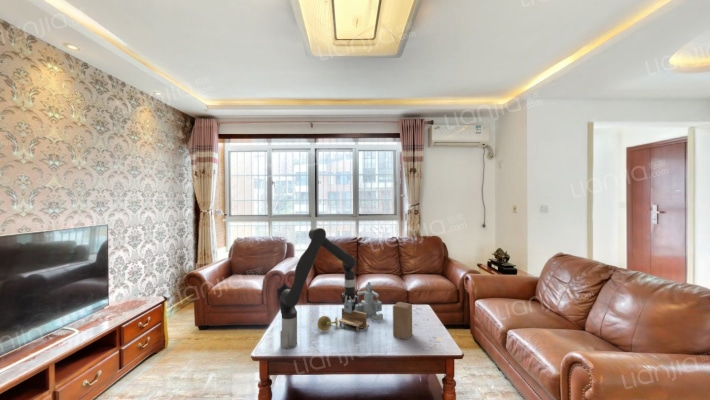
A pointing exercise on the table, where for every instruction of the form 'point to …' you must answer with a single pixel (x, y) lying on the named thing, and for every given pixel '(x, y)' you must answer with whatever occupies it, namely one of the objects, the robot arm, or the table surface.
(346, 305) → the grey rectangular box
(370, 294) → the castle model
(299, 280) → the robot arm
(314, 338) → the table surface
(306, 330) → the table surface
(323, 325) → the wall sconce
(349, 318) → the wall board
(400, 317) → the block
